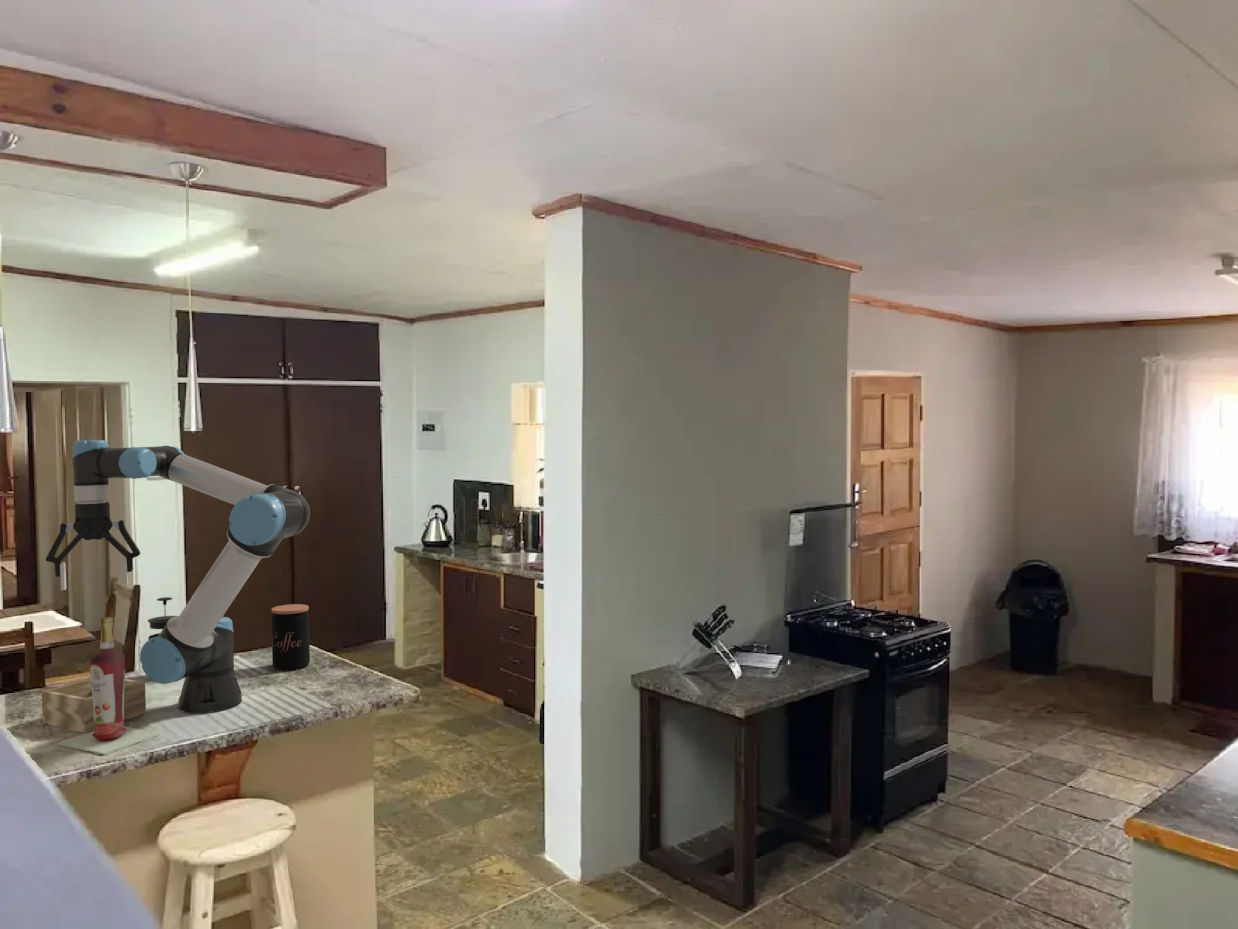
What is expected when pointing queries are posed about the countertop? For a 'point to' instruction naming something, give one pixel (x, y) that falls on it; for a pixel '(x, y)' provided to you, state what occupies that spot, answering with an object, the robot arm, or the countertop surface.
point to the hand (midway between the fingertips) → (95, 587)
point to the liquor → (107, 686)
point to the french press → (160, 619)
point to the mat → (106, 747)
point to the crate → (86, 704)
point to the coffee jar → (290, 637)
